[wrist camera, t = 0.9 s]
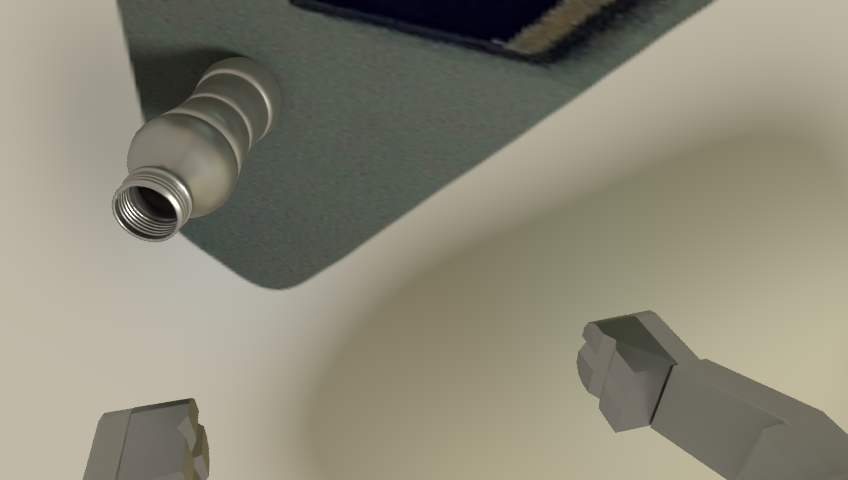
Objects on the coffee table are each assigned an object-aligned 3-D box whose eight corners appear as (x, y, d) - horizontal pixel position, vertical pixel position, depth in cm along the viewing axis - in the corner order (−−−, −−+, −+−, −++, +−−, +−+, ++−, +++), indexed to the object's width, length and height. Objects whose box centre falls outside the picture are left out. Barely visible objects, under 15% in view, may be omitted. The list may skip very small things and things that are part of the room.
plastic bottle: (209, 120, 47) (91, 254, 31) (208, 41, 44) (73, 145, 27) (284, 134, 48) (208, 273, 31) (289, 57, 44) (206, 169, 28)
